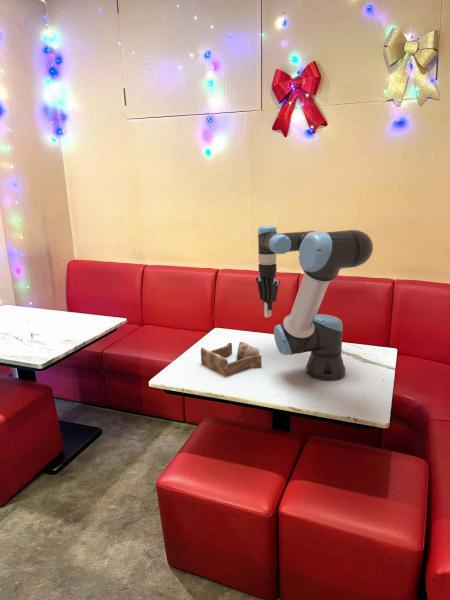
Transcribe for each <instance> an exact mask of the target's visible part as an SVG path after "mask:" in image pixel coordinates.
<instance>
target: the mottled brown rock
mask: <svg viewBox="0 0 450 600" xmlns="http://www.w3.org/2000/svg"><path fill="white" fill-rule="evenodd" d="M255 355H260V349H259V348H257V347H253V346H252V345H250V344H248V343H246V342H244V341H239V343H238V347H237V352H236V358H237V359H239V360H240V359H243V358H245V357H248V356H255Z"/></svg>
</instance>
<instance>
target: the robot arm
mask: <svg viewBox="0 0 450 600" xmlns="http://www.w3.org/2000/svg"><path fill="white" fill-rule="evenodd" d="M257 231H258V233H257V238H258V239H257V240H258V241H257V243H258V247H257V248H258V249H257V250H258V273H259V276H257V277H256V278H255V281H256V284H257V290H258V295H259V299H260V300H261V301H262V303H263V309H264V311H263V313H264V315H263V317H264V318H270V317H272V311H273V303H274V302H275V303H276V301H277V297H278V291H279V286H280V284H281V280H278V279H277V277H276V272H277V255H285V254H286V253H289V252H291V253H292V252H298V254H299V255H298V262H299V265H300V268H301V269H302V271H303V273H304V274H303V276H302V280H301V282H300V284H299V287H298V291H297V293H296V297H295V300H294V302H293V304H292V308H291V311H290V314H288V315H286V316H285V317H284V319H283V322H282V324H276V325H275V326H274V327H273V328H274V330H273V336H274V337H273V338H274V343H275V345H276V348H277V350H278V352H279V353H280V354H281V355H283V356H289V355H290V356H292V355H297V354H303V353H309V352H310V354H309V357H308V360H307V364H306V367H305V369H306V370H305V372H306V375H307V376H309V377H310V378H313V379H316V380H320V381H326V382H327V381H329V382H330V381H337V380H341V379H342V378H344V377H346V366H345V364H344V359H343V357H342V351H343V349H342V347H343V332H344V329H343V327H344V326H343V321H342V320H341V319H340V318H339V317H337V316H333V315H329V314H324V313H323V314H322V313H320V314H319V313H318V311H319V309H320V306H321V304H322V302H323V299H324V297H325V294H326V292H327V289H328V287H329V284H330V282H332V281H334V280H336V278H337V277H338V275H339V273H340V270H343V269H349V268H357V267H359V266H363V264H366V262H367V261H369V259H370V257H371V256H372V254H373V251H374V246H373V245H374V243H373V241H372V238H371V237H370V236H369V235H368V234H367V233H366V232H364V231H361V230H356V229H351V230H350V229H346V230H335V231H327V232H326V231H318V230H307V231H294V232H279V233H278V232H277V227H276V226H275V225H263V226H260V227H258V230H257Z"/></svg>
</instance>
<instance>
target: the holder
mask: <svg viewBox="0 0 450 600" xmlns="http://www.w3.org/2000/svg"><path fill="white" fill-rule="evenodd" d="M231 355H233V342H228V343H227V344H226V345H225V346H222V347H219V348H216V349H212V350H209V349H207V348H205V347H203V346H201V348H200V362H201V366H203V367H207V368H208V369H209V370H211V371H213V372H215V373H217V374H219V375H221V376H223V377H225V378H228V377H230V376H234V375H236V374H239V373H241V372H245V371H247V370H250V369H257V368H258V369H259V368H262V355H261V354H259V355H255V356H248V357H245V358H243V359H240V358H239V359H238V360H235V361H232V362H229V361H228V358H229V357H230V356H231ZM228 362H229V363H228Z"/></svg>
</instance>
